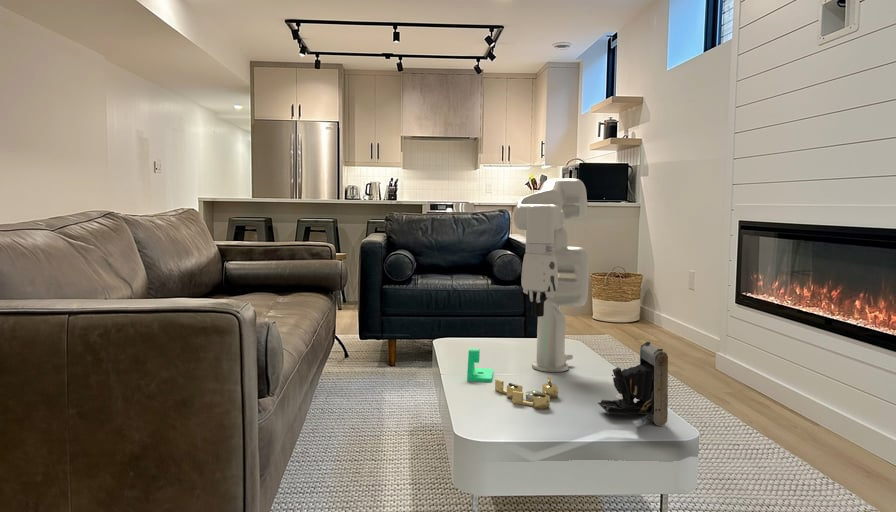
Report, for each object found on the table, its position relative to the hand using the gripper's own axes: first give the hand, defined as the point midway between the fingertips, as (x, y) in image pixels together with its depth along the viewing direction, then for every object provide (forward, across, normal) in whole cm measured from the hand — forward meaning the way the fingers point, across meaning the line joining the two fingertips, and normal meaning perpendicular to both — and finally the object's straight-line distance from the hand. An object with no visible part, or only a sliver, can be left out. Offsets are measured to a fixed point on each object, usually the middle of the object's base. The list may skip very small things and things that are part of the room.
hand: (537, 316), depth 160 cm
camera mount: (+26, +27, -3) cm, 37 cm away
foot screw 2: (+24, -3, +4) cm, 24 cm away
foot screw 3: (+24, +2, -8) cm, 25 cm away
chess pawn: (+25, -13, -23) cm, 37 cm away
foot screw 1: (+24, +8, +3) cm, 25 cm away
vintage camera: (+25, -23, -12) cm, 36 cm away
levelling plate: (+25, 0, 0) cm, 25 cm away
